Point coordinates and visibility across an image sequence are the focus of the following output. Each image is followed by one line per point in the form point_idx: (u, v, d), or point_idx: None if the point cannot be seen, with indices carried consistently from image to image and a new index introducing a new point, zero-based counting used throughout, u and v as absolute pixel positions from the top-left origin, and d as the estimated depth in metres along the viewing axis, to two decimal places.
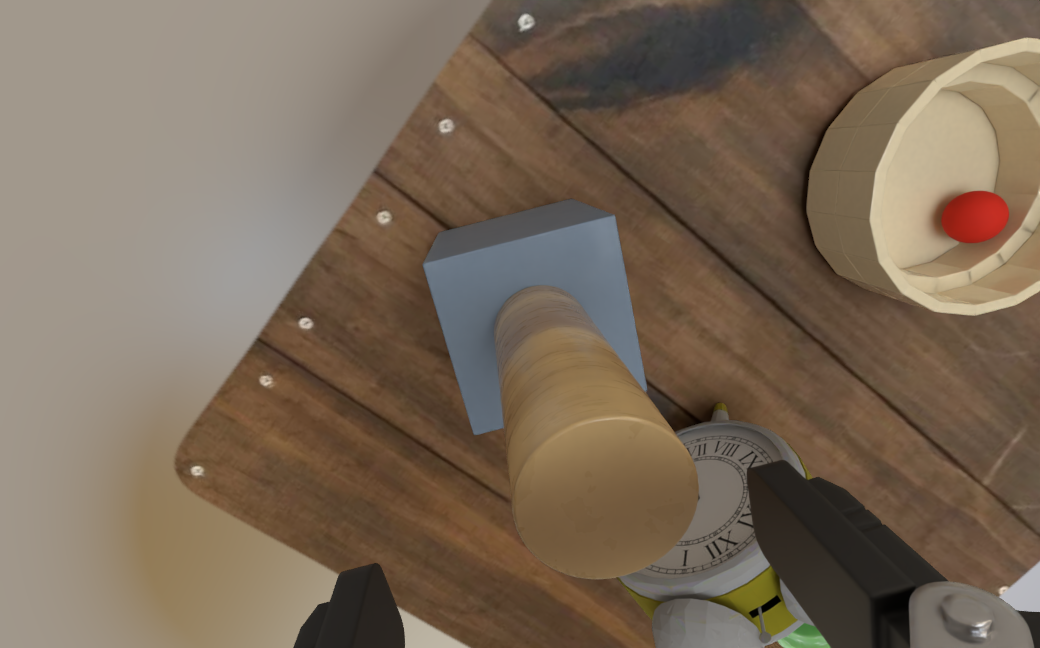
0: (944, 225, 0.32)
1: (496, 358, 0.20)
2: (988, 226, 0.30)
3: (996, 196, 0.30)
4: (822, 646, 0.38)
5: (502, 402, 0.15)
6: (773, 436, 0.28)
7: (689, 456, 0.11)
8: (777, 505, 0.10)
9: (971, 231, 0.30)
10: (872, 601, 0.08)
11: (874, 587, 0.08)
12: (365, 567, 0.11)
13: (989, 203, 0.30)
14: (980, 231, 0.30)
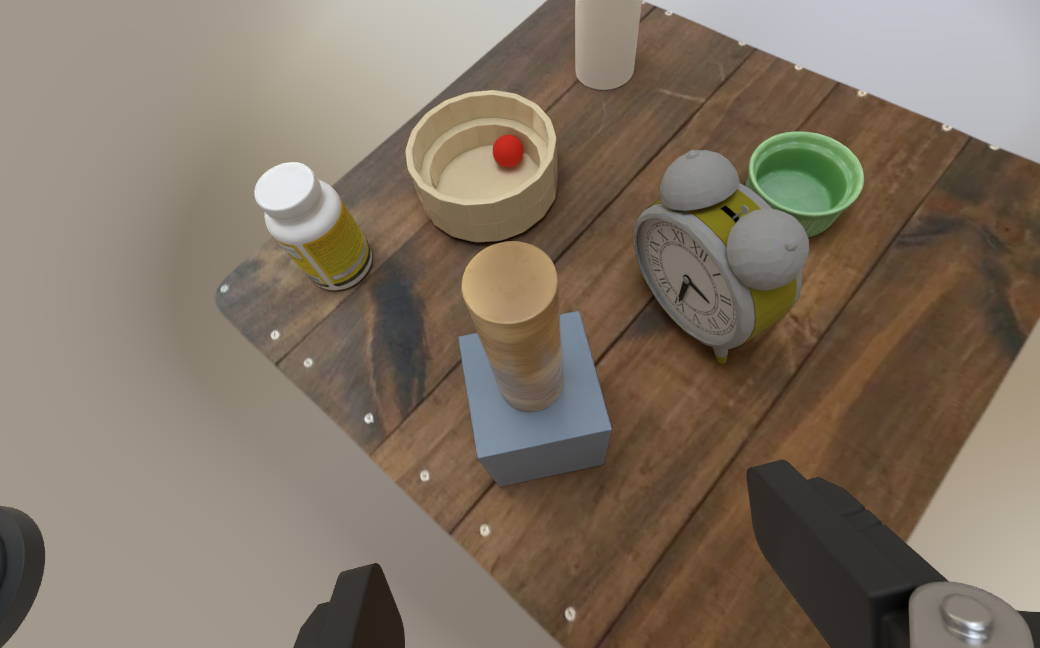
0: (513, 164, 0.51)
1: (526, 396, 0.29)
2: (510, 143, 0.50)
3: (494, 143, 0.51)
4: (852, 173, 0.45)
5: (512, 366, 0.25)
6: (634, 233, 0.40)
7: (487, 247, 0.23)
8: (777, 505, 0.10)
9: (513, 150, 0.50)
10: (872, 601, 0.08)
11: (874, 587, 0.08)
12: (365, 567, 0.11)
13: (497, 145, 0.51)
14: (513, 146, 0.50)
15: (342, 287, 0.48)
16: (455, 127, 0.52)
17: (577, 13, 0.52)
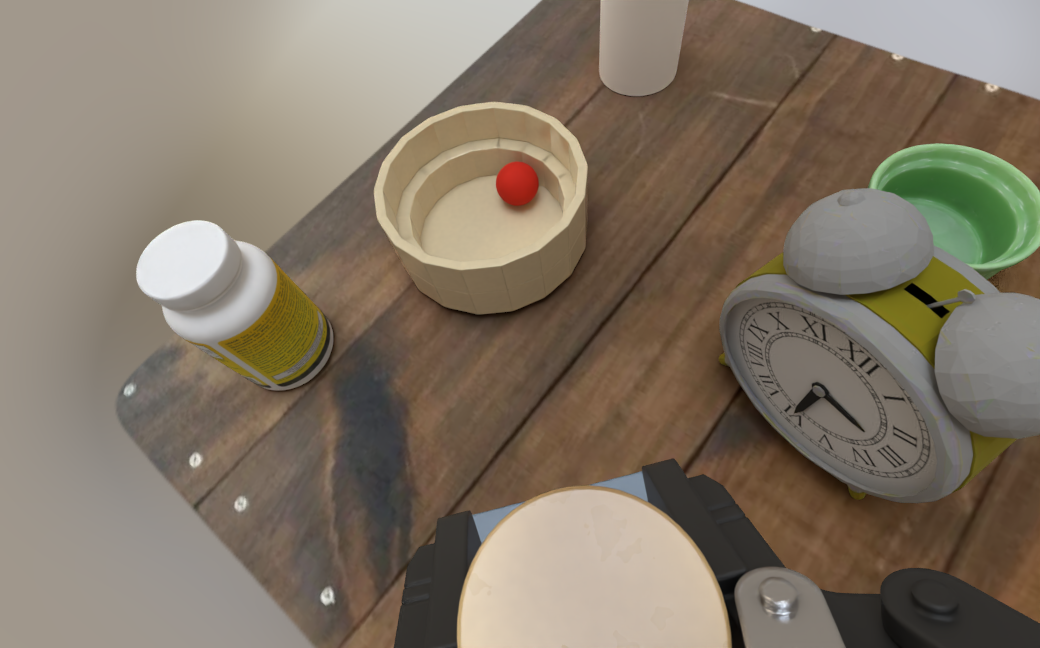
0: (525, 202, 0.37)
1: None
2: (520, 173, 0.36)
3: (498, 174, 0.37)
4: (1024, 201, 0.31)
5: None
6: (723, 311, 0.26)
7: (522, 504, 0.09)
8: (659, 500, 0.11)
9: (525, 183, 0.36)
10: None
11: (714, 572, 0.09)
12: (461, 513, 0.12)
13: (502, 177, 0.37)
14: (525, 177, 0.36)
15: (291, 386, 0.34)
16: (443, 154, 0.38)
17: None
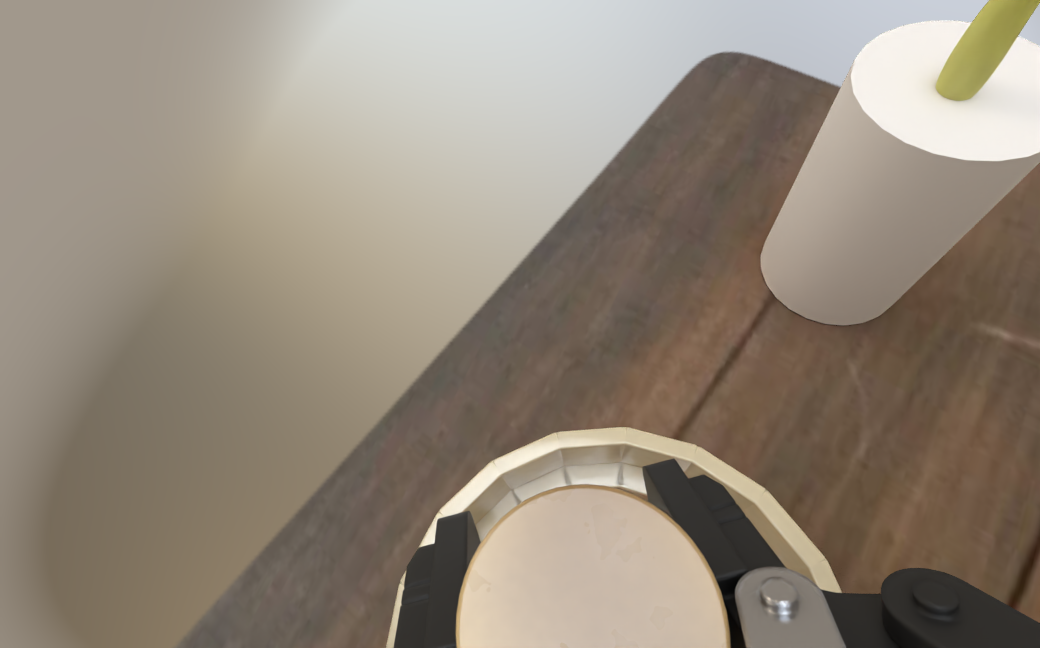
0: None
1: None
2: None
3: None
4: None
5: None
6: None
7: (523, 502, 0.09)
8: (659, 500, 0.11)
9: None
10: None
11: (714, 572, 0.09)
12: (461, 513, 0.12)
13: None
14: None
15: None
16: (514, 496, 0.20)
17: (828, 187, 0.20)
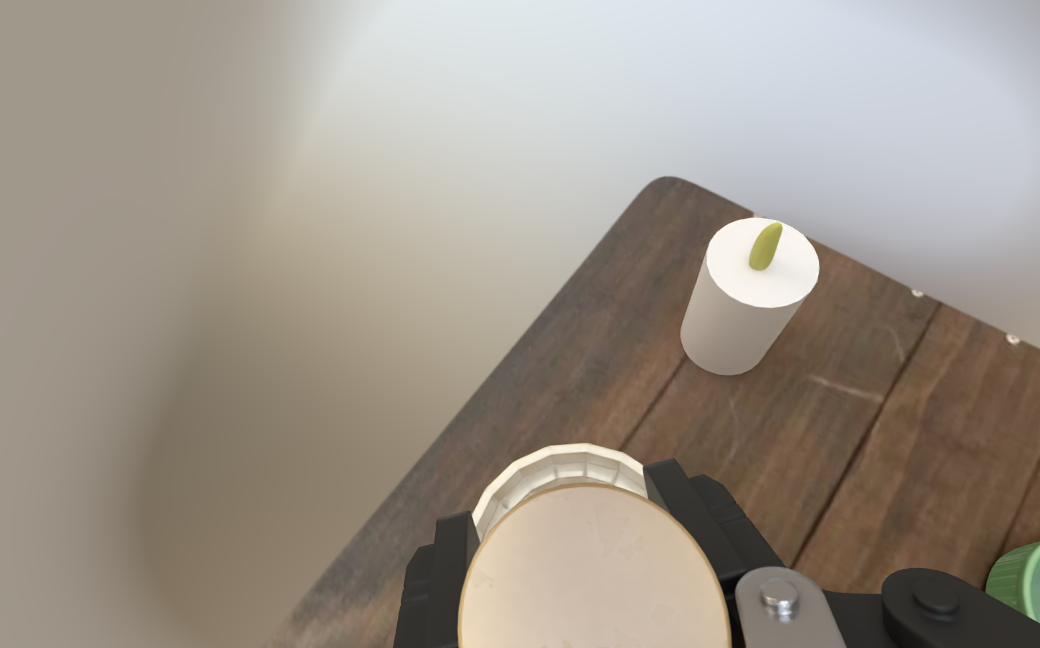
0: None
1: None
2: None
3: None
4: None
5: None
6: None
7: (526, 500, 0.09)
8: (659, 500, 0.11)
9: None
10: None
11: (715, 572, 0.09)
12: (461, 513, 0.12)
13: None
14: None
15: None
16: (525, 481, 0.35)
17: (702, 305, 0.34)
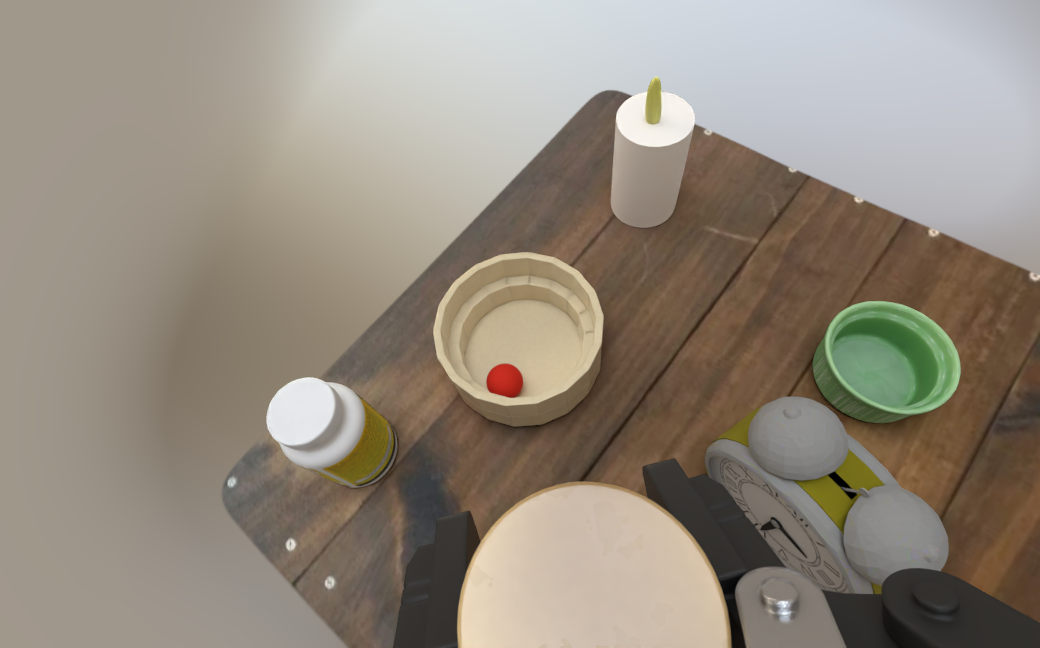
0: (513, 393, 0.43)
1: None
2: None
3: None
4: (944, 354, 0.39)
5: None
6: (707, 455, 0.35)
7: (526, 499, 0.09)
8: (659, 500, 0.11)
9: None
10: None
11: (715, 572, 0.09)
12: (461, 513, 0.12)
13: (511, 365, 0.44)
14: (522, 378, 0.44)
15: (366, 485, 0.43)
16: (484, 288, 0.47)
17: (617, 159, 0.47)
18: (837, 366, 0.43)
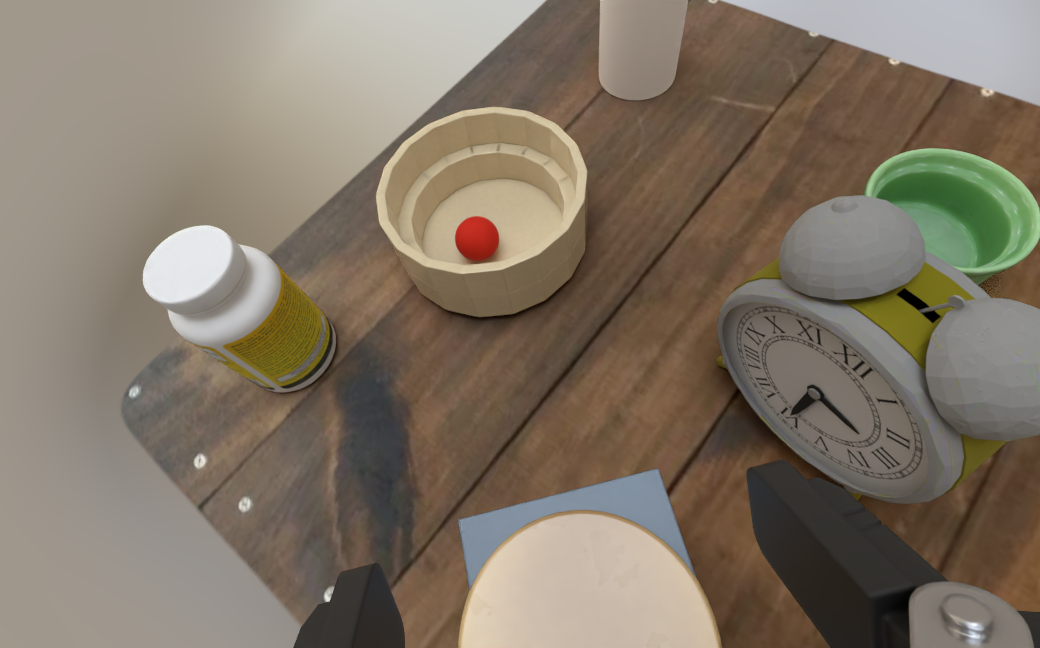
0: (491, 230, 0.35)
1: None
2: None
3: None
4: (1018, 206, 0.31)
5: None
6: (720, 315, 0.26)
7: (524, 527, 0.09)
8: (777, 505, 0.10)
9: None
10: (872, 601, 0.08)
11: (874, 587, 0.08)
12: (365, 567, 0.11)
13: None
14: None
15: (294, 388, 0.34)
16: (444, 158, 0.38)
17: None
18: None
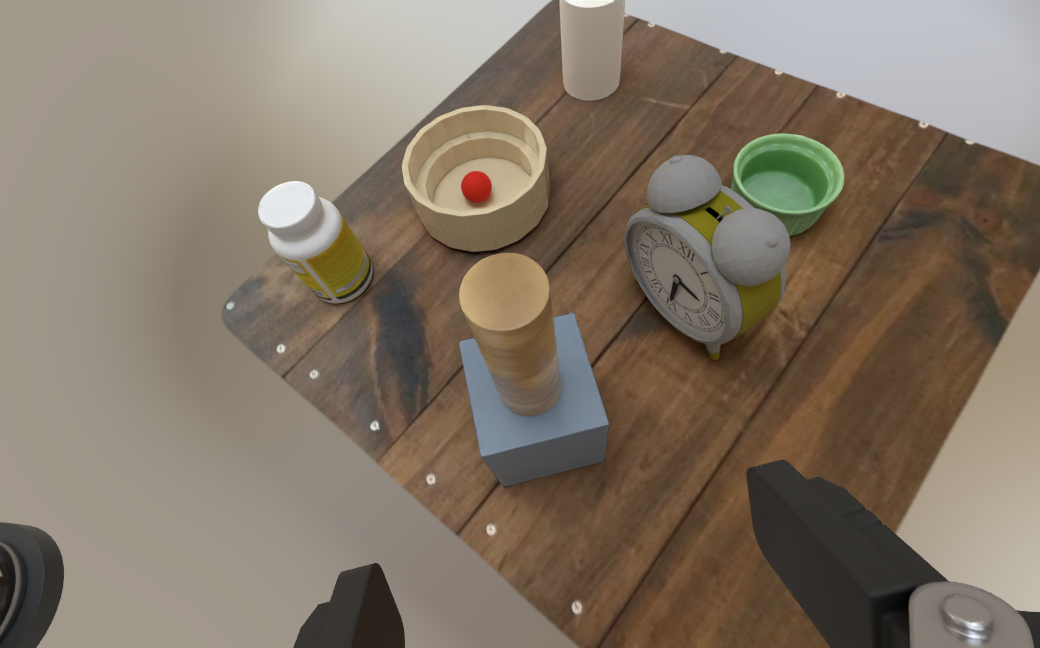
0: None
1: (524, 400, 0.30)
2: (484, 199, 0.52)
3: None
4: (833, 171, 0.47)
5: (509, 371, 0.27)
6: (624, 236, 0.42)
7: None
8: (777, 505, 0.10)
9: (489, 193, 0.52)
10: (872, 601, 0.08)
11: (874, 587, 0.08)
12: (365, 567, 0.11)
13: None
14: (487, 197, 0.52)
15: (345, 300, 0.50)
16: (448, 142, 0.54)
17: (562, 28, 0.54)
18: None
